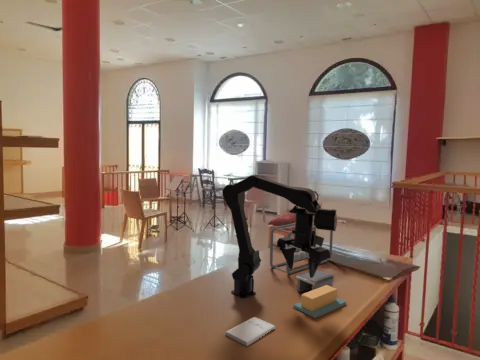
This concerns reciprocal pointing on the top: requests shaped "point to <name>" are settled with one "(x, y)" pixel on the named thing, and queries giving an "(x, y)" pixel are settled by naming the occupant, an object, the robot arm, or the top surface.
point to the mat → (321, 308)
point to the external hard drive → (249, 331)
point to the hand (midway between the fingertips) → (301, 273)
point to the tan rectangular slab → (318, 297)
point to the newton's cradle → (297, 256)
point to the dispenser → (313, 280)
